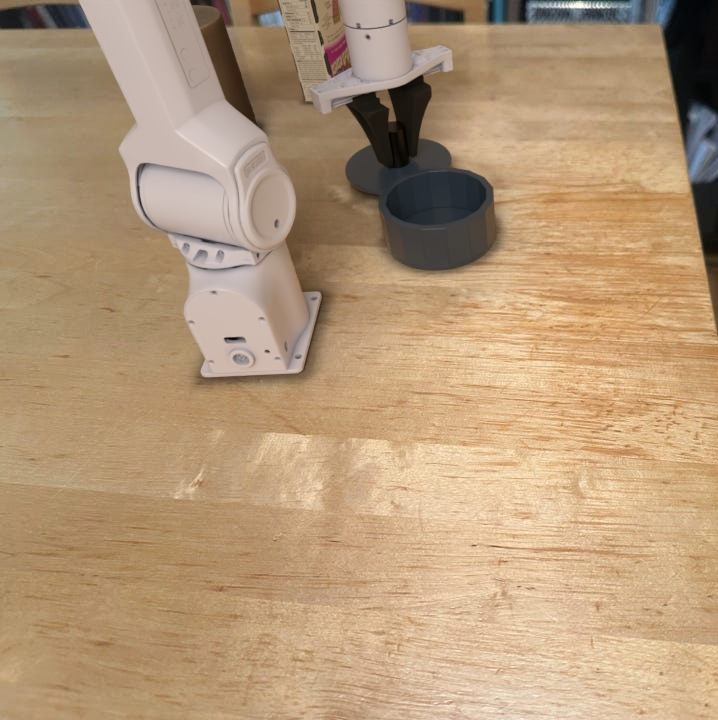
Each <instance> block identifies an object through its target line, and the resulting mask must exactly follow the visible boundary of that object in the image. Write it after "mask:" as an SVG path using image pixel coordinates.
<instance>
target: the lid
mask: <svg viewBox="0 0 718 720" xmlns="http://www.w3.org/2000/svg"><path fill="white" fill-rule="evenodd" d="M388 129H389V141H390V146H391V151H392V157H393V166H390V167H385V166H384V165H382V164H381V163H380V162H378V160H377V157H376V155H375V152H374V150H373V148H372V145H371V144H369V145H367V146H365V147H363V148H361V149H359V150H358V151H356V152H355V153H354V154H353V155H352V156H350V158H349V159H348V160H347V162H346V164H345V168H344V173H345V177H346V180H347V182H348V183H349V184H350V185H351V186H352V187H354V188H355V189H357V190H359V191H360V192H364V193H367V194H371V195H375V196H376V195H378V196H380V194H381V193H382V192H383V191H384V189H385V188H386V187H387V186H388V185H389V184H390V183H391V182H393V181H395V180H397V179H399V178H401V177H402V176H404V175H406V174H408V173H412V172H416V171H420V170H423V169H428V168H442V167H451V168H452V167H453V160H452V154H451V152H450V151H449V150H448V148H446V147H445V146H444V145H443V144H441V143H439V142H437V141H434V140H432V139H427V138H423V137H419V141H418V150H417V156H415V157H413V158H411V157H410V156H409V153H408V146H407V140H406V133H405V127H404V124H403V123H402V122H399V121H396V120H393V121H388Z"/></svg>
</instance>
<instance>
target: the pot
mask: <svg viewBox="0 0 718 720" xmlns="http://www.w3.org/2000/svg"><path fill="white" fill-rule="evenodd" d="M377 208H378V212H379V218H380V223H381V227H382V233H383V238H384V243H385V245H386V247H387V251H388V252H389V254H390V255H391V256H392V258H393V259H394V260H396V261H397V262H399V263H400V264H402V265H404V266H407V267H409V268H413V269H416V270H423V271H445V270H453V269H456V268H460V267H463V266H467V265H469V264H471V263H473V262H475V261H477V260H479V259H481V258H482V257H483V256H485V254H487V253H488V252H489V250H491V248H492V247H493V245H494V243H495V240H496V236H497V235H496V214H495V211H496V210H495V192H494V186H493V185H492V184H491V183H490V182H489V181H488V180H487V178H486V177H485V176H483V175H481V174H478V173H476V172H474V171H471V170H469V169H463V168H457V167H452V166H451V167H442V168H428V169H423V170H420V171H416V172H412V173H408V174H406V175H404V176H402V177H401V178H399V179H397V180H395V181H393V182H391V183H390V184H389V185H388V186H387V187H386V188H385V189H384V191H383V192H382V193H381V194H380V195H379V198H378V205H377Z"/></svg>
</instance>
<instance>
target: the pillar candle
mask: <svg viewBox="0 0 718 720" xmlns="http://www.w3.org/2000/svg"><path fill="white" fill-rule="evenodd" d="M191 6H192V8H193V11H194V14H195V17H196V19H197V22H198V25H199V28H200V30H201V33H202V36H203V39H204V41H205V44H206V47H207V50H208V52H209V55H210V58H211V61H212V63H213V66H214V69H215V72H216V74H217V77H218V80H219V83H220V85H221V88H222V91H223V94H224V96H225V99H226V101H227V102H228V103H229V104H230V105H232V106H233V107H234V108H235V109H236V110H237V111H239V112H240V113H241V114H243V115H244V116H245V117H246V118H248V119H249V120H250V121H251V122H253V123H254V124H255V125H256V126H257V127H258V128H259V125H258V122H257V119H256V114H255V112H254V109H253V107H252V103H251V101H250V97H249V95H248V91H247V88H246V86H245V82H244V79H243V75H242V72H241V69H240V67H239V63H238V60H237V57H236V54H235V51H234V48H233V45H232V41H231V38H230V35H229V33H228V29H227V26H226V24H225V19H224V16H223V14H222V12H221V11H220V8H219V9H218V8H217V7H214V6H211V5H199V4H196V5H194V4H193V5H191Z"/></svg>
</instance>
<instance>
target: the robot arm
mask: <svg viewBox="0 0 718 720" xmlns="http://www.w3.org/2000/svg"><path fill="white" fill-rule="evenodd" d="M77 1H78V4H79V5H80V7H81V9H82V11H83V13H84V15H85V18H86V20H87V22H88V24H89V26H90V28H91V30H92V32H93V35H94V36H95V38H96V41H97V43H98V44H99V47H100V49H101V51H102V53H103V55H104V57H105V59H106V61H107V64H108V65H109V68H110V70H111V72H112V74H113V77H114V78H115V80H116V82H117V85H118V87H119V89H120V91H121V93H122V95H123V97H124V100H125V101H126V103H127V106H128V107H129V110H130V112H131V114H132V115H133V118H134V120H135V122H134V124H133V125H132V127H131V128H130V129H129V131H128V132H127V133H126V134H125V136H124V137H123V139H122V140H121V143H120V145H119V146H118V153H119V155H120V157H121V158H122V160H123V162H124V165H125V167H126V170H127V174H128V177H129V189H130V196H131V202H132V204H133V207H134V210H135V212H136V213H137V215H138V217H139V219H140V220H141V221H142V222H143V223H144V224H145V225H146V226H147V227H149V228H151V229H153V230H154V231H157V232H160V233H165V234H166V235H167V237H168V239H169V241H170V243H171V245H172V248H174V249H177V250H179V251H180V253H181V255H182V258H183V261H184V263H185V266H186V268H187V274H188V280H189V281H188V291H187V295H186V298H185V302H184V305H183V318H184V321H185V324H186V325H187V327H188V328H189V331H190V333H191V335H192V337H193V338H194V341H195V342H196V345H197V347H198V348H199V351H200V353H201V354H202V357H203V358H204V361H203V364H202V366H201V368H200V372H199V373H200V375H201V376H202V377H203V378H223V377H224V378H225V377H243V376H245V377H247V376H267V375H287V374H299V373H301V372H302V371H303V370H304V367H305V364H306V359H307V356H308V352H309V348H310V345H311V341H312V337H313V333H314V329H315V325H316V322H317V318H318V314H319V310H320V306H321V302H322V299H323V295H322V293H321V291H318V290H317V291H315V290H314V291H303V290H302V286H301V283H300V280H299V277H298V274H297V272H296V267H295V265H294V262H293V259H292V256H291V252H290V250H289V247H288V243H287V241H286V238H288V235H289V233H290V232H291V230H292V227H293V226H294V222H295V218H296V215H297V195H296V190H295V186H294V182H293V180H292V177H291V175H290V173H289V172H288V170H287V168H286V167H285V166H284V165H283V164H282V163H281V162H280V161H279V160H278V158H277V157H276V155H275V154H274V151H273V149H272V146H271V143H270V140H269V137H268V135H267V134H266V132H264V131H263V130H262V129H261V128H260V127H259V126H258V125H257V126H258V127H257V126H256V125H255V124H254V123H253V122H251V121H250V120H249V119H248V118H246V117H245V116H244V115H243V114H241V113H240V112H239V111H237V110H236V109H235V108H234V107H233V106H232V105H230V104H229V103H228V102H227V101H226V99H225V96H224V94H223V91H222V88H221V85H220V83H219V80H218V77H217V74H216V72H215V69H214V66H213V63H212V61H211V58H210V55H209V52H208V50H207V47H206V44H205V41H204V39H203V36H202V33H201V30H200V28H199V25H198V22H197V19H196V17H195V14H194V11H193V8H192V6H193V5H192V3H191V0H77ZM339 5H340V10H341V15H342V20H343V26H344V31H345V36H346V41H347V46H348V51H349V56H350V61H351V66H352V67H351V68H349V69H347V70H346V71H344V72H342V73H340V74H338V75H336V76H335V77H333V78H331V79H329V80H327V81H325V82H323V83H321V84H319V85H317V86H314V87H311V88H309V90H310V94H311V98H312V102H313V103H312V105H313V109H314V110H316V111H317V112H318V113H320V114H321V115H323V116H325V115H328V114H331V113H333V111H334V109H336V108H338V107H341V106H343V105H344V106H346V108H347V109H348V110H349V111H350V113H351V114H352V115H353V117H354V118H355V120H356V121H357V122H358V124H359V126H360V127H361V129H362V131H363V132H364V133H365V136H366V137H367V139H368V141H369V143H370V145H372V148H373V150H374V152H375V155H376V157H377V160H378V162H380V163H381V164H382V165H384V166H385V167H390V166H393V157H392V151H391V146H390V141H389V129H388V122H389V118H390V117H389V116H390V107H387V106H386V105H384V104H383V103H381V99H380V97H377V94H378V93H382V92H384V91H387V92H388V96H389V100H390V102H391V106H392V109H393V112H394V116H395V121H399V122H402V123H403V124H404V127H405V133H406V140H407V146H408V153H409V156H410V157H411V158H413V157H415V156H417V150H418V141H419V138H420V133H421V127H422V124H423V119H424V116H425V113H426V110H427V107H428V106H429V103H430V101H431V99H432V96H433V93H432V92H433V91H432V85H431V84H429V83H428V82H426V81H425V77H428V76H430V75H433V74H437V73H440V72H443V73H448V72H452V71H454V60H453V50H452V49H451V48H448V47H446V46H443V45H442V44H439V45H436V46H432V47H428V48H422V49H417V50H412V48H411V41H410V40H411V39H410V32H409V25H408V18H407V17H408V16H407V9H406V2H405V0H339Z"/></svg>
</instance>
